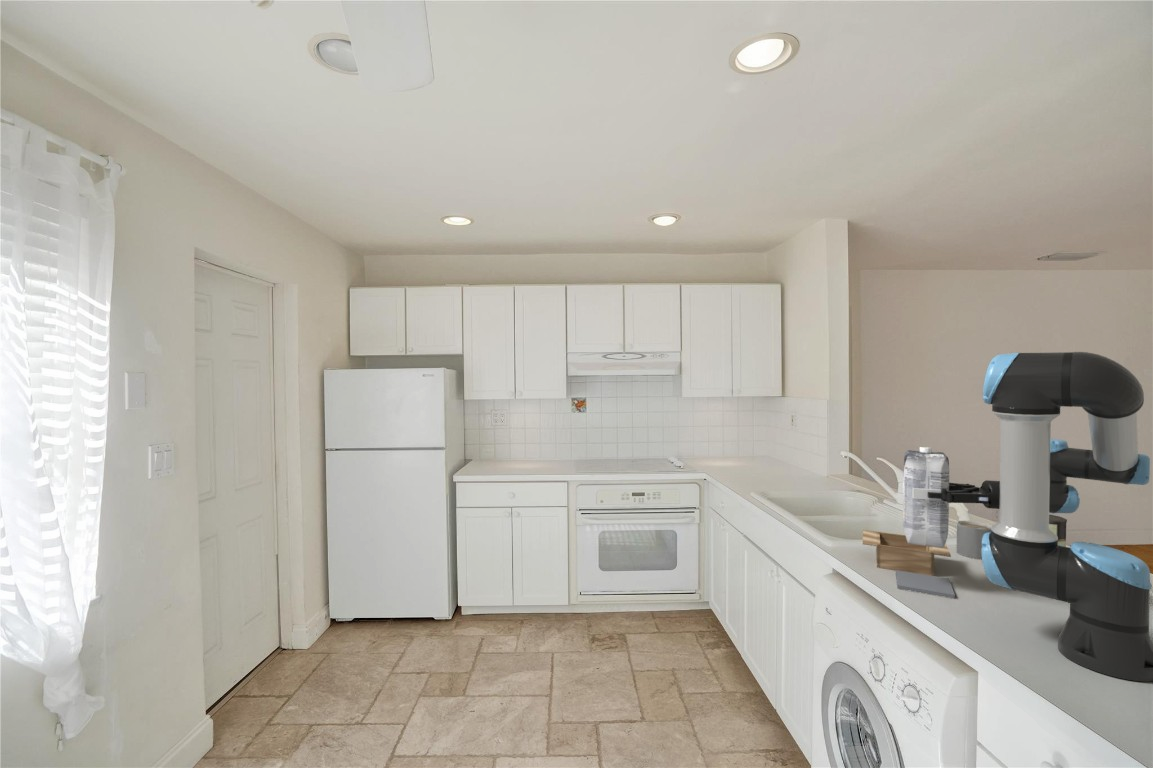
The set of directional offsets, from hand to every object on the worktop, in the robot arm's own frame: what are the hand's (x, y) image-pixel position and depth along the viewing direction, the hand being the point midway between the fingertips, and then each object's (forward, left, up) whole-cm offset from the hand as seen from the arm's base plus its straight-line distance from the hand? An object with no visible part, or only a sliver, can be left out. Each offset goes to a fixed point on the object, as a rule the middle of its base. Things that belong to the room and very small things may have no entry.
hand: (907, 489), depth 150 cm
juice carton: (+1, -4, -15) cm, 16 cm away
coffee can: (+44, -40, -27) cm, 66 cm away
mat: (0, -4, -27) cm, 27 cm away
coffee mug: (+39, -23, -27) cm, 53 cm away
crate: (+17, 0, -27) cm, 32 cm away
